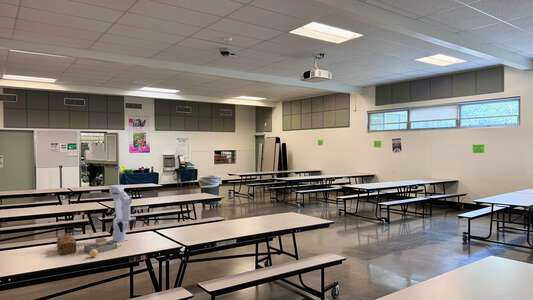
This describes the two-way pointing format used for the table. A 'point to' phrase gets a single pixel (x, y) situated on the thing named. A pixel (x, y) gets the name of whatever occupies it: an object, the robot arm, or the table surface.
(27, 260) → the table surface
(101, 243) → the carton
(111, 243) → the bin
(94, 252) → the egg
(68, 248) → the bread
